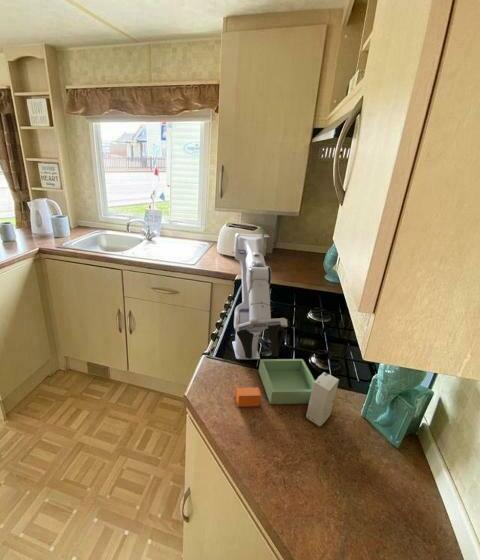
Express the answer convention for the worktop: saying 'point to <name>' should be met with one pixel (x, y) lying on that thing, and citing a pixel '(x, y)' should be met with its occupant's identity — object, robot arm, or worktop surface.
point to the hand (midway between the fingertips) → (261, 357)
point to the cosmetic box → (322, 398)
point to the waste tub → (286, 380)
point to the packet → (248, 397)
